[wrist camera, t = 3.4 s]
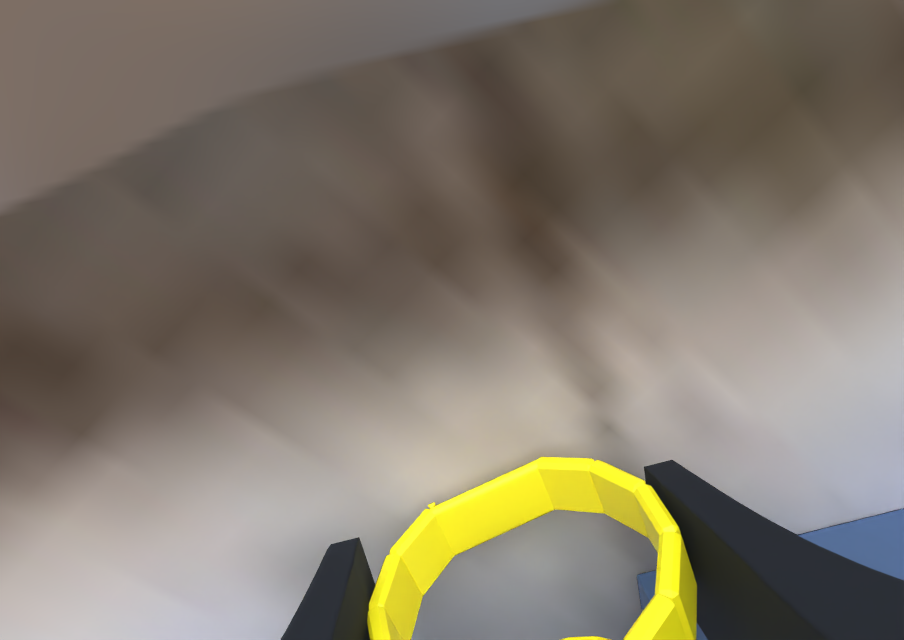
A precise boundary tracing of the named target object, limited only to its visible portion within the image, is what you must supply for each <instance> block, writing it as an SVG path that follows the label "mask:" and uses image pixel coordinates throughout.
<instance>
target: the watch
mask: <svg viewBox="0 0 904 640" xmlns="http://www.w3.org/2000/svg"><path fill="white" fill-rule="evenodd" d="M428 507H429V508H430V509H425V510H424V511H423V512H422V513H421V515H420V516H419V517H418V518H417V519H416V520H415V522H414V523H413V524H412V525H411V526H410V527H409V528H408V530H407V531H406V532H405V533H404V534H403V535H402V537H401V538H400V539H399V540H398V541H397V542H396V543H395V545H394V546H393V547H392V548H391V549H390V555H387V556H386V558H385V560H384V563H383V565H382V568H381V571H380V574H379V576H378V579H377V582H376V585H375V588H374V590H373V593H372V596H371V599H370V601H369V611H368V617H367V624H368V631H369V637H370V640H411V637H412V634H413V630H414V626H415V623H416V619H417V616H418V612H419V608H420V605H421V601H422V597H423V596H424V594H425V593H426V592H427V590H428V589H429V588H430V587H431V585H432V584H433V583H434V581H435V580H436V579H437V577H438V576H439V575H440V574H441V572H442V571H443V570H444V568H445V567H446V566H447V565H448V563H449V562H450V561H451V559H452V558H453V557H454V556H455V555H458V554H460V553H462V552H464V551H466V550H468V549H471V548H473V547H475V546H477V545H479V544H481V543H484V542H486V541H488V540H490V539H492V538H494V537H497V536H499V535H501V534H503V533H505V532H508V531H510V530H512V529H514V528H516V527H518V526H521V525H523V524H525V523H527V522H529V521H531V520H534V519H536V518H538V517H540V516H542V515H544V514H547V513H549V512H551V511H553V510H555V509H557V510H569V511H581V512H594V513H605V514H606V515H608V516H610V517H612V518H614V519H615V520H617V521H619V522H621V523H623V524H624V525H626V526H628V527H630V528H632V529H633V530H635V531H637V532H639V533H641V534H642V535H644V536H646V537H648V538H649V539H650V541H651V543H652V544H653V546H654V548H655V549H656V551H657V553H658V559H657V572H656V584H655V595H654V596H653V598H652V599H651V601H650V602H649V603H648V605H647V606H646V608H645V609H644V610H643V612H642V613H641V615H640V616H639V617H638V619H637V620H636V622H635V623H634V624H633V626H632V627H631V629H630V630H629V632H628V633H627V634H626V636H625V637H624V639H623V640H696V622H697V583H696V580H695V577H694V573H693V570H692V567H691V564H690V561H689V557H688V554H687V551H686V548H685V545H684V542H683V539H682V536H681V532H680V529H679V527H678V525H677V524H676V522H675V521H674V519H673V518H672V516H671V515H670V513H669V512H668V510H667V509H666V507H665V506H664V504H663V503H662V501H661V500H660V498H659V497H658V495H657V494H656V492H655V491H654V489H653V488H652V486H650V485H647V484H646V483H645V481H644V480H642V479H640V478H638V477H635V476H633V475H631V474H629V473H627V472H625V471H622V470H620V469H618V468H616V467H614V466H612V465H609V464H607V463H605V462H603V461H600V460H596V461H594V460H593V459H591V458H557V457H540V458H539V459H537V460H535V461H533V462H530V463H528V464H526V465H524V466H522V467H519V468H517V469H515V470H513V471H511V472H508V473H506V474H504V475H502V476H500V477H498V478H495V479H493V480H491V481H489V482H487V483H484V484H482V485H480V486H478V487H476V488H473V489H471V490H469V491H467V492H465V493H462V494H460V495H458V496H456V497H454V498H452V499H449V500H447V501H445V502H443V503H441V504H438V505H435V502H434V503H431V504H429V505H428ZM561 640H610V639H606V638H602V637H597V636H587V637H569V638H564V639H561Z"/></svg>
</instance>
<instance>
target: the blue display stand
mask: <svg viewBox="0 0 904 640" xmlns="http://www.w3.org/2000/svg"><path fill="white" fill-rule="evenodd" d="M798 536H800V537H802V538H804V539H806V540H808V541H810V542H812V543H814V544H816V545H818V546H821V547H823V548H825V549H827V550H830V551H832V552H834V553H836V554H839V555H841V556H843V557H845V558H848V559H850V560H852V561H854V562H857V563H859V564H862V565H864V566H867V567H869V568H872V569H874V570H877V571H880V572H882V573H885V574H888V575H890V576H893V577H896V578H899V579H901V580H904V509H900V510H896V511H892V512H888V513H884V514H880V515H876V516H872V517H868V518H864V519H860V520H856V521H852V522H848V523H844V524H840V525H836V526H832V527H828V528H824V529H820V530H816V531H812V532H808V533H804V534H800V535H798ZM656 572H657V570H655V571H651V572H647V573H643V574H639V575H637V580H638V588H639V595H640V602H641V608H642V610H644V609H645V608H646V606H647V605H648V603H649V602H650V601H651V599H652V598H653V596H654V595H655V584H656ZM696 640H708V639H707V638H706V636H705V634H704V633H703V631H702V630H701V628H700V627H699V625H698V623H697V622H696Z"/></svg>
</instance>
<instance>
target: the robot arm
mask: <svg viewBox="0 0 904 640" xmlns="http://www.w3.org/2000/svg"><path fill="white" fill-rule="evenodd" d="M644 470H645V479H646V484H647V485H650V486H652V488H653V489H654V491H655V492H656V494H657V495H658V497H659V498H660V500H661V501H662V503H663V504H664V506H665V507H666V509H667V510H668V512H669V513H670V515H671V516H672V518H673V519H674V521H675V522H676V524H677V525H678V527H679V529H680V532H681V536H682V539H683V542H684V545H685V548H686V551H687V554H688V557H689V561H690V564H691V567H692V570H693V573H694V577H695V580H696V583H697V623H698V625H699V627H700V628H701V630H702V631H703V633H704V634H705V636H706V638H707V639H708V640H904V580H901V579H899V578H896V577H893V576H890V575H888V574H885V573H882V572H880V571H877V570H874V569H872V568H869V567H867V566H864V565H862V564H859V563H857V562H854V561H852V560H850V559H848V558H845V557H843V556H841V555H839V554H836V553H834V552H832V551H830V550H827V549H825V548H823V547H821V546H818V545H816V544H814V543H812V542H810V541H808V540H806V539H804V538H802V537H800V536H798V535H796V534H794V533H792V532H790V531H788V530H787V529H785V528H783V527H781V526H779V525H777V524H775V523H773V522H771V521H770V520H768V519H766V518H764V517H763V516H761V515H759V514H757V513H756V512H754V511H752V510H751V509H749V508H747V507H745V506H744V505H742V504H740V503H739V502H737V501H735V500H734V499H732V498H731V497H729V496H727V495H726V494H724V493H723V492H721V491H719V490H718V489H716V488H715V487H713V486H712V485H710V484H708V483H707V482H705V481H704V480H702V479H701V478H699V477H698V476H696V475H695V474H693V473H692V472H690V471H688V470H687V469H685V468H684V467H682V466H681V465H679V464H678V463H676V462H674V461H673V460H670V461H666V462H662V463H658V464H654V465H650V466H646V467H644ZM374 588H375V583H374V580H373V577H372V574H371V571H370V568H369V565H368V562H367V559H366V556H365V553H364V550H363V547H362V544H361V541H360V539H359V538H355V539H351V540H347V541H343V542H339V543H335V544H331V545H330V546H329V548H328V549H327V551H326V553H325V555H324V558H323V560H322V562H321V564H320V566H319V568H318V570H317V572H316V574H315V576H314V578H313V580H312V582H311V584H310V586H309V588H308V590H307V592H306V594H305V596H304V598H303V600H302V602H301V604H300V606H299V608H298V609H297V611H296V613H295V615H294V617H293V619H292V621H291V622H290V624H289V626H288V628H287V630H286V632H285V633H284V635H283V637H282V638H281V640H370V637H369V631H368V624H367V617H368V611H369V601H370V599H371V596H372V593H373V590H374Z"/></svg>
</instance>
